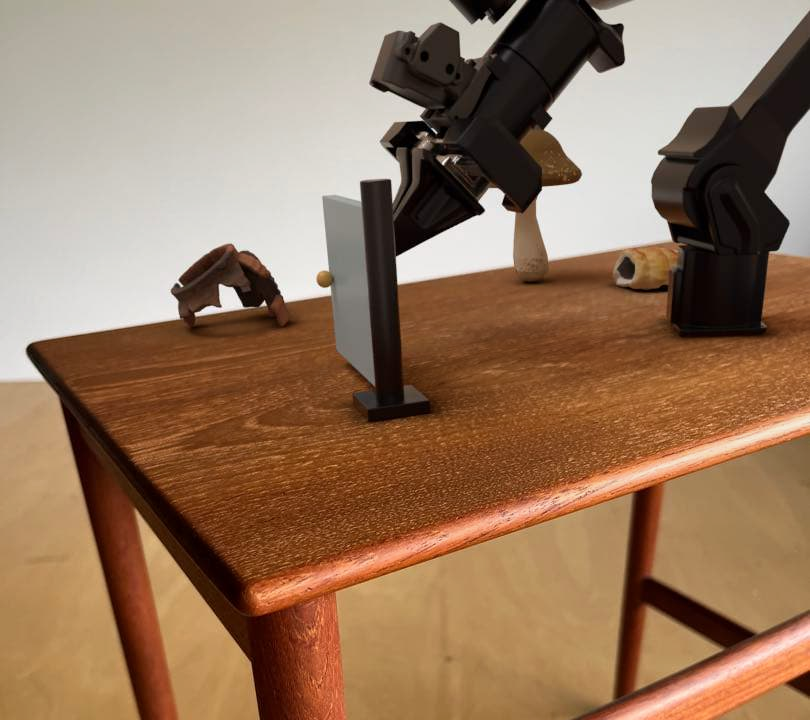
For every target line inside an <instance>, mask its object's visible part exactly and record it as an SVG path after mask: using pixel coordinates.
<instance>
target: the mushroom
mask: <svg viewBox="0 0 810 720" xmlns="http://www.w3.org/2000/svg"><path fill="white" fill-rule="evenodd" d="M521 145H522V146H523V147H524V148H525V149H526V150H527V152H528V153H529V154H530V155H531V156H532V157H533V158H534V159H535V161H536V162H537V163H538V164H539V165H540V166H541V167H542V188H545V187H555V186H556V187H557V186H567V185H572V184H575V183H578V182H580V180H581V178H582V176H583V173H582V170H581V168H579V166H578V165H576V163H575V162H573V160H571V158H570V157H569V156H568V155H567V154H566V152H565V150H564V149H563V147H562V145H561V143H560V141H559V140H558V139H557V138H556V137H555V136H554V135H553V134H552V133H550V132H549V131H547V130H545V129H544V130H543V131H531V132H530V133H529V134H528V136H527V137H526V138H525V139H524V141H523V142H522V143H521ZM489 189H498V188H497V187H490V188H489ZM538 197H539V195H538V196H537V197H536V198H535V199H534V201H533V202H532V203H531V204H530V206H529V207H528V208H527V209H526V211H525V212H524V213H517V212H514V213H515V216H514V217H515V218H514V231H513V248H512V259H513V260H512V261H513V269H514V271H515V273H516V277H518V278H519V279H521V280H522V281H524V282H530V283H531V282H536V281H540V280H541V279H543V278H545V277H546V276H547V274H548V271H549V268H550V267H549V256H548V252H547V249H546V246H545V243H544V240H543V235H542V232H541V228H540V225H539V221H538V218H537V200H538Z"/></svg>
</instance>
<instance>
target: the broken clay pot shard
mask: <svg viewBox="0 0 810 720" xmlns="http://www.w3.org/2000/svg"><path fill="white" fill-rule="evenodd" d="M178 282H179V283H180V284H181V285H180V284H179V283H178ZM178 282H175V283H174V285H173V286H172V287H171V288H170V294H171V295H172V296H173V297H174V298H175V300H177V302H178V303H177V309H178V311H177V312H178V316H179V320H182V319H183V322H184V323H185V324H187V326H188V327H189V328H194V327H195V323H196V314H197V313H200V312H202V311H203V310H205V308H208V307H211V306H212V307H215V308H218V309H219V308H220V309H222V308H223V307H222V304H221V300H220V299H221V298H220V285H222V286H224V287H225V288H233V290H234V291H235V294H236V295H237V297H238V299H239V301H240V302H241V305H242V308H244V309H247V308H248V309H249V308H260V307H261V306H262V305H263V304H264V303H265V304H266V307H267V310H268V314H269V316H270V317H272V318H273V317H276V320H277V323H278V326H280V327H284V326H285V325H286V324H287V323H288V321H289V318H290V312H289V311H288V308H287V305H286V302H285V300H284V296H283V295H282V292H281V290H280V289H279V284H278V283H277V282H276V280H275V277H273V276H272V272H271V271H270V270H269V269H268V268H267V267H266V266H265V264H263V263H262V262H261V260H260V259H259V257H258V256H257V255H255V253H253V252H251V251H250V250H240V251H238V249H237V248H236V247H235V245H234V244H233V243H225V244H223V245H220V246H218V247H216V248H213V249H211V250H210V251H209V252H207V253H205V254H204V255H202V256H201V257H200V258H199V259H198V260H196V261H195V262H194V263H192V265H191V266H189V267H188V269H186V270H185V271H184V272H183V273H182V274H181V275H180V276H179V278H178Z"/></svg>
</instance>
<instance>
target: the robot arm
mask: <svg viewBox="0 0 810 720" xmlns="http://www.w3.org/2000/svg"><path fill="white" fill-rule="evenodd" d="M448 1H449V2H450V4H452V5H453V7H454V8H455V9H456V10H457V11H458V12H459V13H460V14H461V16H462V17H464V19H465V20H466V21H467V22H468V23H469V24H470V25H471V26H473V25H474V24H475V23H477V22H478V21H481V22H482V21H484V20H485V18H486V17H487V20H488V21H489V22H490V23H491V24H492V25H495V24H497V23H498V22H499V21H500V20H501V19H502V18H503V17H504V16H505V15H506V14H507V13H508V11H510V9H511V8H512V7H513V6H514V5H515V4H516V2H517V1H518V0H448ZM633 1H634V0H525V1H524V3H523V4H522V5H521V7H520V8H519V9H518V10H517V12H516V13H515V14H514V15H513V16H512V19H510V21H509V22H508V23H507V25H506V26H505V27H504V28H503V30H502V31H501V32H500V34H499V35H498V36H497V38H496V39H495V40H494V41H493V42H492V44H491V45H490V46H489V47H488V48H487V50H486V51H485V53H484V54H483V55H482V56H481V57H477V58H468V59H466V58H464V57H463V56H461V55H462V54H461V38H460V32H459V30H457V29H455V28H453V27H450V26H449V25H447V24H445V23H443V22H436V23H434V24H431V25H430V26H429V27H428V28H427V29H426V30H425V31H424V32H423V33H422V34H421V35H420V36H419V37H418V36H417V35H416V32H414V31H412V30H409V31H404V30H395V31H393V32H390V33H387V34H385V35H384V36H383V41H382V43H381V46H380V48H379V52H378V55H377V58H376V60H375V61H376V62H375V64H374V67H373V70H372V73H371V76H370V80H369V82H368V83H369V85H370V86H371V87H372V88H373V89H376V90H378V91H379V92H382V93H387V92H389V93H391V94H393V95H395V96H397V97H399V98H401V99H403V100H405V101H408V102H409V103H412V104H414V105H416V106H418V107H421V108H423V109H424V110H423V111H422V112H421V114H420V115H419V117H420V118H421V119H422V120H410V121H409V120H407V121H394V122H393V123H392V125H390V127H389V128H388V130H387V131H386V133H385V134H384V135H383V136H382V137H381V139H380V140H379V143H380V145H381V147H382V148H383V149H384V150H385V151H386V152H387V153H388V154H389V155H390V156H391V157H392V158H393V159H394V160H395V161H396V162H397V163H398V164H399V172H400V183H399V187H398V188H397V189H398V190H397V192H396V194H395V197H394V198H393V218H394V234H395V250H396V258H397V257H399V256H401V255H402V254H404V253H406V252H408V251H410V250H412V249H414V248H416V247H418V246H419V245H421V244H423V243H425V242H426V241H429V240H431V239H433V238H435V237H437V236H439V235H440V234H442V233H445V232H446V231H448V230H450V229H453V228H454V227H457V226H458V225H460V224H462V223H464V222H466V221H468V220H471V219H472V218H475V217H477V216H479V217H480V216H482V215H483V214H484V213H485V212H486V208H485V207H484V206H483V205H482V203H480V202H479V201H480V200H481V199H482V198H483V196H484V195H485V194H486V192H487V191H488V190H489V189H491V188H490V187H497V188H496V189H498V190H499V191H501V192H502V193H503V194H504V195H503V198H502V202H501V206H502V207H503V208H504V209H505V210H506V212H513V213H516V212H517V213H524V212H525V211H526V209H527V208H528V207H529V206H530V204H531V203H532V202H533V201H534V199H535V198H536V197H537V196H538V197H539V195H540V193H541V192H542V191H543V187H542V167H541V166H540V165H539V164H538V163H537V162H536V161H535V159H534V158H533V157H532V156H531V155H530V154H529V153H528V152H527V150H526V149H525V148H524V147H523V146H522V145H521V143H522V142H523V141H524V139H525V138H526V137H527V136H528V134H529V133H530V132H531V131H543V130H545V129H546V128H547V126H548V125H549V124H550V123H551V122H552V120H553V116H551V114H549V112H548V111H549V110H550V109H551V107H552V106H553V104H554V103H555V102H556V101H557V99H558V98H559V97H560V96H561V95H562V94H563V92H564V91H565V89H567V87H568V86H569V84H570V83H571V82H572V81H573V80H574V78H575V77H576V76H577V75H578V74H579V72H580V71H581V69H583V68H584V66H585V65H586V63H587V62H588V63H589V65H591V66H592V68H593V69H594V70H595V71H596V72H597V73H598V74H604V73H606V72H609V71H611V70H613V69H616V68H617V69H618V68H619V67H622V66H623V65H624V64H625V62H626V54H625V45H624V39H623V36H624V31H625V25H624V23H622V22H618V23H614V24H612V23H608V22H606V21H604V20H603V19H602V18H601V16H600V15H599V14H598V13H597V12H596V11H595V10H594V9H596V10H598V11H606V10H607V11H608V10H611V9H613V8H616V7H619V6H622V5H624V4H627V3H631V2H633ZM809 111H810V9H809V11H808V12H807V13H806V14H805V15H804V16H803V18H802V19H801V20H800V21H799V22H798V24H797V25H796V26H795V28H794V29H793V30H792V31H791V32H790V33H789V34H788V36H787V37H786V38H785V40H784V41H783V43H781V45H780V46H779V47H778V49H777V50H776V51H775V52H774V53H773V55H772V56H771V57H770V58H769V59H768V61H767V62H766V63H765V65H763V66H762V68H761V69H760V70H759V72H758V73H757V74H755V77H754V78H753V79H752V80H751V82H750V83H749V84H748V85H747V86H746V88H745V89H744V90H743V91H742V92H741V94H740V95H739V96H738V97H737V98H736V99H735V100H734V101H733V102H731V103H730V104H729V105H721V106H718V105H717V106H699V107H695V108H694V109H693V110H692V111H691V113H690V114H689V115H688V116H687V118H686V119H685V121H684V122H683V124H682V126H681V128H680V130H679V131H678V133H677V134H676V136H674V138H673V139H672V140H671V141H670V142H669V143H668V144H667V145H664V146H663V147H661V148H660V149H658V151H657V155H659V156H663V158H662V159H661V160H660V161H659V163H658V164H657V166H656V168H655V169H654V171H653V174H652V176H651V179H650V184H651V200H652V203H653V206H654V209H655V210H656V212H657V213H658V215H659V216H660V217H661V219H664V221H665V220H666V223H667V226H668V230H669V233H670V237H671V240H672V243H675V244H682V245H678V246H677V250H678V259H677V265H672V266H671V267H670V268H669V283H668V285H667V299H666V312H665V316H666V318H667V320H668V321H669V323H670V324H672V327H673V328H674V329H675V330H676V332H677V333H678V335H680V336H712V335H715V336H716V335H743V334H744V335H748V334H749V335H750V334H766V333H767V330H768V326H767V324H766V323H764V322H763V321H762V318H763V312H764V311H763V310H764V302H765V292H766V285H767V276H768V275H767V274H768V267H769V256H770V253H771V252H777V251H779V250H780V248H781V246H782V244H783V241H784V239H785V237H786V234H787V232H788V231H789V230H788V229H789V227H790V220H789V218H788V217H787V216H786V215H785V213H783V211H782V210H781V209H780V208H779V207H778V206H777V204H776V203H775V202H774V201H773V200H772V199H771V198H770V196H768V194H767V193H766V190H767V189H768V187H769V186H770V184H771V183H772V181H773V180H774V178H775V177H776V175H777V172H778V170H779V167H780V163H781V160H782V157H783V154H784V150H785V147H786V145H787V141H788V138H789V137H790V135H791V133H792V131H793V130H794V129H795V128H796V126H797V125H798V124H799V123H800V122H801V120H802V119H803V118H804V117H805V116H806V115H807V114H808V112H809ZM538 197H537V198H538Z"/></svg>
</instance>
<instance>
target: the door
mask: <svg viewBox="0 0 810 720" xmlns="http://www.w3.org/2000/svg"><path fill="white" fill-rule="evenodd" d="M321 199H322V209H323V210H322V212H323V221H324V222H323V223H324V231H325V233H324V234H325V243H326V253H327V264H328V265H327V266H328V270H325V269H324V270H321V271H319V272H318V273H317V275H316V279H315V280H316V283H317V285H318V286H319V287H321V288H323V289H327V288H329V287H330V295H331V297H330V298H331V306H332V317H333V318H332V319H333V329H334V339H335V349H336V351H337V352H338V353H339V354H340V356H342V357H343V358H344V359H345V360H346V361H347V362H348V363H349V364H350V365H351V366H352V367H354V369H356V370H357V371H358V372H359V373H360V374H361V375H362V376H363V377H364V378H365V379H366V380H367V381H368V382H369V383H371V385H372V386H373V387H375V377H374V364H373V351H372V338H371V325H370V311H369V298H368V285H367V272H366V259H365V246H364V232H363V219H362V206H361V200H357V199H353V198H349V197H345V196H341V195H338V194H329V195H322V196H321Z"/></svg>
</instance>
